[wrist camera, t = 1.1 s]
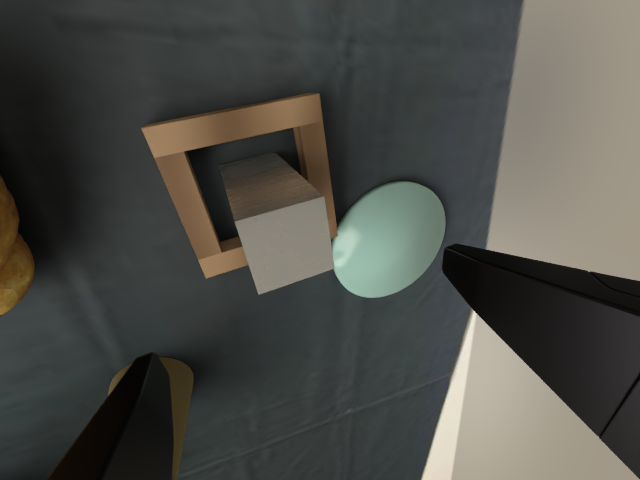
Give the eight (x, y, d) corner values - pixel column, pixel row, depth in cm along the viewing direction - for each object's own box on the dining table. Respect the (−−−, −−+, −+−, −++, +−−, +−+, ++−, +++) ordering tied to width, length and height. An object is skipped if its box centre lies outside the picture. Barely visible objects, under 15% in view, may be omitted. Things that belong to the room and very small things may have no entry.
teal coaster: (445, 166, 25) (450, 167, 24) (437, 271, 30) (441, 274, 30) (322, 201, 22) (325, 204, 22) (338, 309, 28) (341, 313, 27)
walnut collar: (310, 92, 18) (319, 93, 17) (329, 227, 23) (337, 236, 22) (145, 124, 16) (141, 128, 15) (205, 266, 21) (206, 278, 20)
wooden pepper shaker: (188, 406, 27) (185, 575, 18) (107, 415, 24) (53, 620, 15) (199, 355, 24) (201, 517, 15) (110, 359, 22) (50, 557, 13)
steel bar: (274, 151, 19) (324, 196, 12) (285, 202, 21) (334, 268, 14) (218, 165, 19) (234, 221, 11) (235, 216, 20) (258, 294, 13)
